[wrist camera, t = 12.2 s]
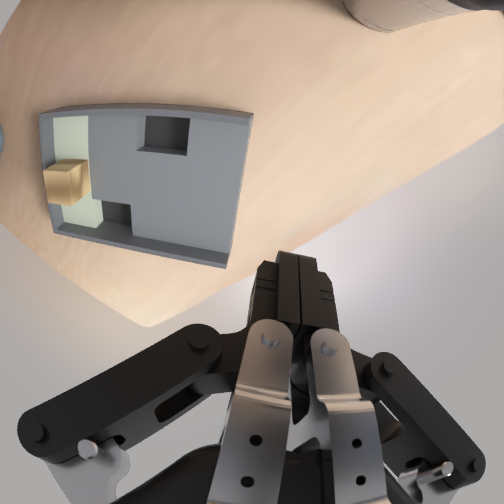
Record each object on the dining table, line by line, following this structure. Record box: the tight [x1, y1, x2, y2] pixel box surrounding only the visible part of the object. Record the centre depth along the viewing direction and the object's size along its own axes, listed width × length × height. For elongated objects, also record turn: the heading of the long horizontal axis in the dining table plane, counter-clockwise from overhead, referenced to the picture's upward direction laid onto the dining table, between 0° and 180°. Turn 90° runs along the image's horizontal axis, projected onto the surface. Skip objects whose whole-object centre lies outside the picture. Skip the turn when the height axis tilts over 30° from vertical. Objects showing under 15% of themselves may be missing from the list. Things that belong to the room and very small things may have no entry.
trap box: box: [39, 103, 254, 269], centre depth 33 cm, size 20×30×6 cm, turn 80°
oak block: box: [43, 159, 90, 206], centre depth 31 cm, size 5×5×5 cm
